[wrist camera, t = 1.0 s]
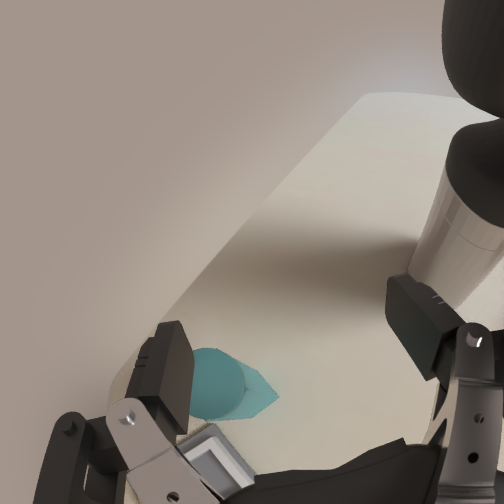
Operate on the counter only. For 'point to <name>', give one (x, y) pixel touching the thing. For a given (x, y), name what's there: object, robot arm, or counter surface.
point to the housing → (216, 461)
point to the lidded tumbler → (226, 388)
